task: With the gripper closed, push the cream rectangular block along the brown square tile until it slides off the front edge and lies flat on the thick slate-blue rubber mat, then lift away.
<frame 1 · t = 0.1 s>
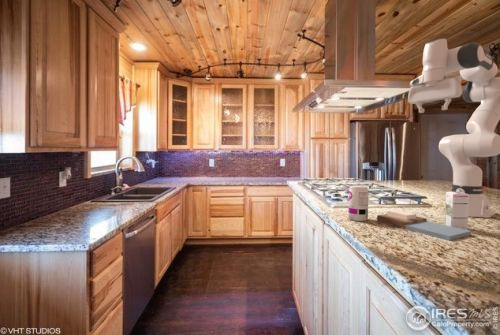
hand: (432, 111, 117), 48 cm above the table, tool pointing down, fingers open, 8 cm apart
brown square tile: (401, 222, 117), on the table
cream rectangular block: (401, 217, 117), point 2 cm above the table, touching brown square tile
mat: (436, 231, 104), on the table
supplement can: (357, 219, 123), on the table
syrup box: (455, 229, 108), on the table
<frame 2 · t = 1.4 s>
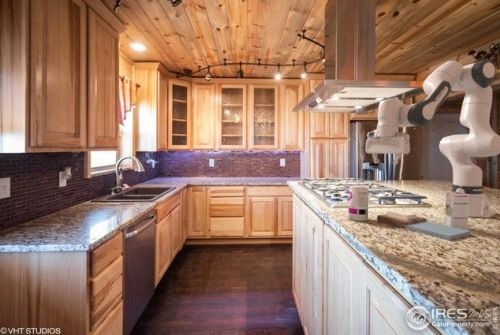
hand: (385, 163, 124), 25 cm above the table, tool pointing down, fingers open, 8 cm apart
nothing on the table moved.
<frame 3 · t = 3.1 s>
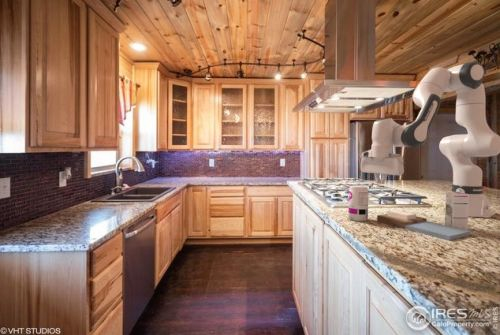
hand: (380, 183, 126), 16 cm above the table, tool pointing down, fingers closed
nothing on the table moved.
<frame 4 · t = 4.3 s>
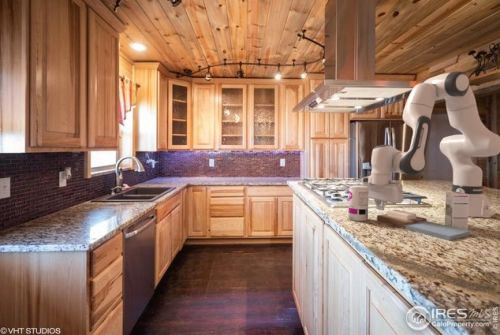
hand: (380, 209, 126), 4 cm above the table, tool pointing down, fingers closed
nothing on the table moved.
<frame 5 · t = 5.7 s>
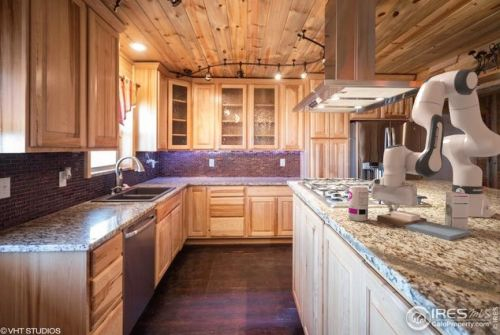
hand: (392, 212, 121), 4 cm above the table, tool pointing down, fingers closed
cream rectangular block: (405, 217, 116), point 3 cm above the table, touching gripper
everything else where it was.
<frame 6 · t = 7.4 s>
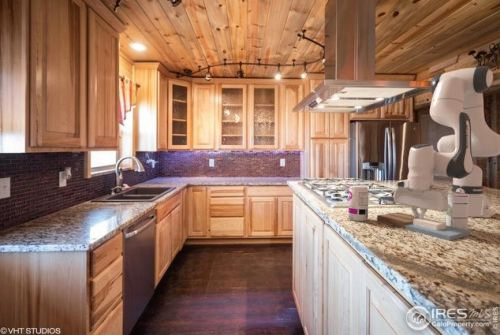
hand: (418, 218, 111), 4 cm above the table, tool pointing down, fingers closed
cream rectangular block: (429, 226, 107), point 1 cm above the table, touching mat
everything else where it was.
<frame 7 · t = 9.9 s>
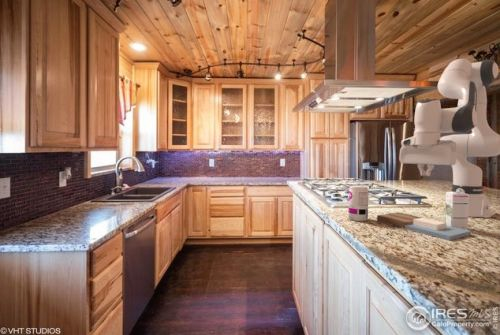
hand: (425, 175, 108), 21 cm above the table, tool pointing down, fingers closed
nothing on the table moved.
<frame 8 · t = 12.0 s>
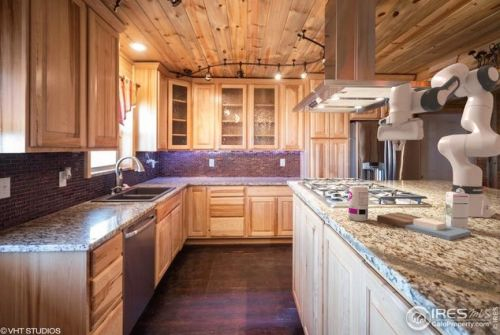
hand: (398, 150, 124), 31 cm above the table, tool pointing down, fingers closed
nothing on the table moved.
at the end: cream rectangular block inside the target area (3.7 cm from its centre), point 1.5 cm above the table; cream rectangular block tilted 0° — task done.
